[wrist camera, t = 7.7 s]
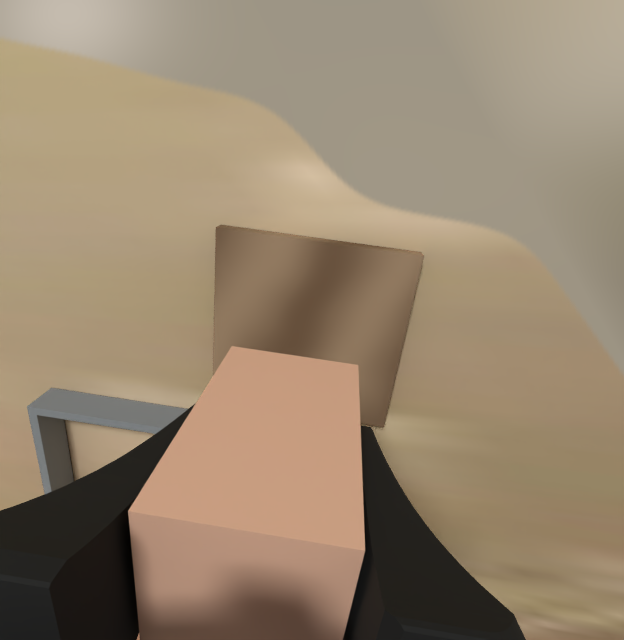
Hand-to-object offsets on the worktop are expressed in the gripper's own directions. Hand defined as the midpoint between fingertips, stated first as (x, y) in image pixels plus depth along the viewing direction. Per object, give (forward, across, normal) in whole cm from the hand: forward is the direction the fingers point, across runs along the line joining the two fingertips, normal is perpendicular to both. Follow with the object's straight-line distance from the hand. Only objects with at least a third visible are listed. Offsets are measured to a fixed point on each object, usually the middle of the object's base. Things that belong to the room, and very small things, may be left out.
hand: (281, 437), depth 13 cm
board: (+9, 0, 0) cm, 9 cm away
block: (+2, 0, 0) cm, 2 cm away
